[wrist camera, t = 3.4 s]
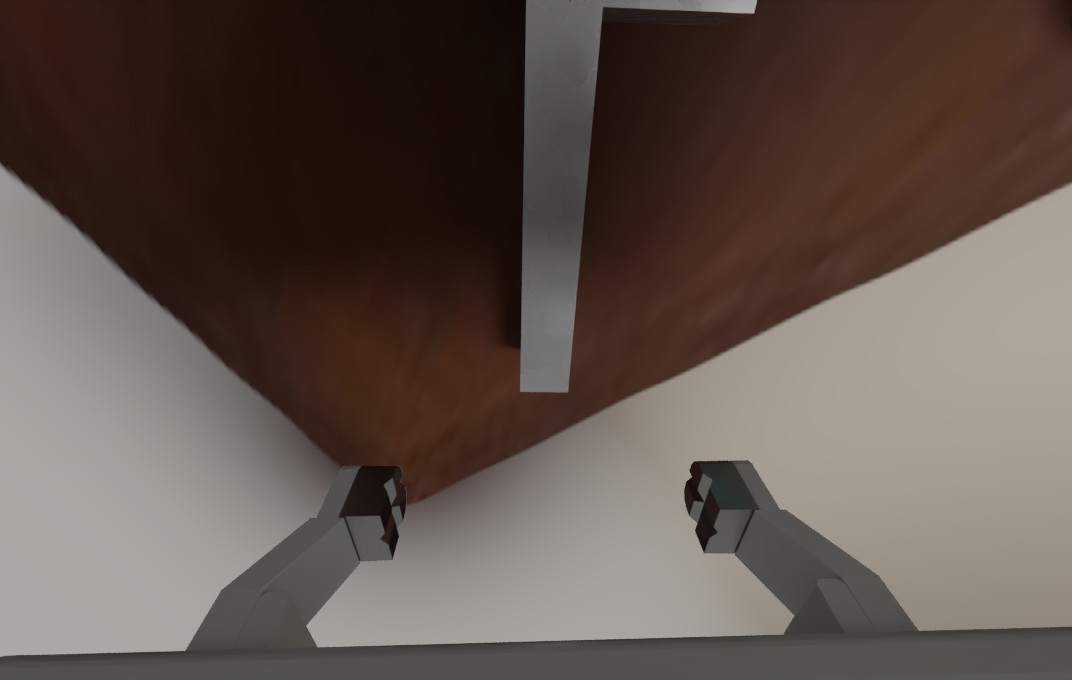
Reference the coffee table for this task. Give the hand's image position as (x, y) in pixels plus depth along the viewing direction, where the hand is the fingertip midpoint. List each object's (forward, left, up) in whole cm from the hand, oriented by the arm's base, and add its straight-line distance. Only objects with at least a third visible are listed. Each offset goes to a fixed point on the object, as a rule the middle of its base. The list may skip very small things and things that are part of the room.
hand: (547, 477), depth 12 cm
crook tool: (-3, -5, -13) cm, 14 cm away
